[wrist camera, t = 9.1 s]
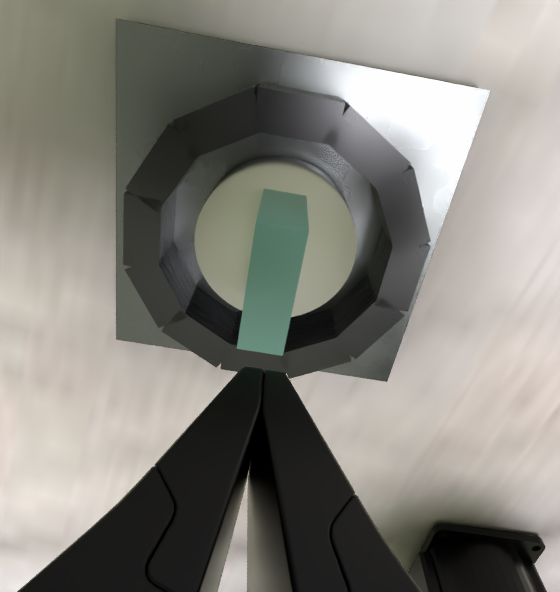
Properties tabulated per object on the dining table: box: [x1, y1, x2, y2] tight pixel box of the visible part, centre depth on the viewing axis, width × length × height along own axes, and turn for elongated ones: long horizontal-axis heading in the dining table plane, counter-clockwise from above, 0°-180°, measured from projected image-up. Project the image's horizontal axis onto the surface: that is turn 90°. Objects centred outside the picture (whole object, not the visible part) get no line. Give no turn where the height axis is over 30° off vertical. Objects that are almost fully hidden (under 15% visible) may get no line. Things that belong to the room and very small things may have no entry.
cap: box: [194, 156, 357, 356], centre depth 15 cm, size 6×6×5 cm
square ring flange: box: [116, 19, 490, 382], centre depth 17 cm, size 12×12×3 cm
